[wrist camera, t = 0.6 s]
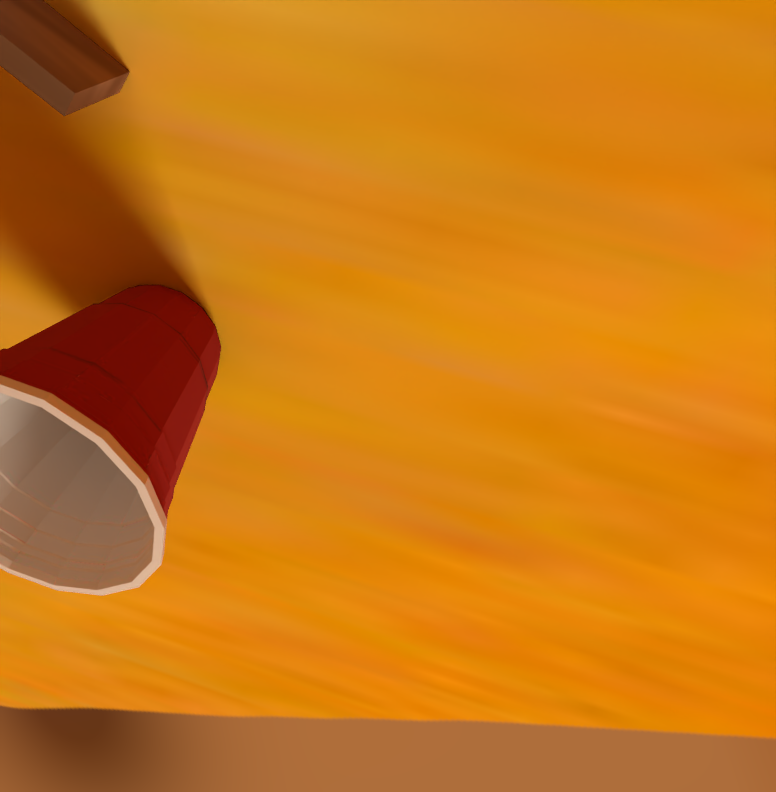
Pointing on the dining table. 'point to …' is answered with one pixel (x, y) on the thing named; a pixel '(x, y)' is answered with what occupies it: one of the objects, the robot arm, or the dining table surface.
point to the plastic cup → (100, 437)
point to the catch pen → (55, 57)
